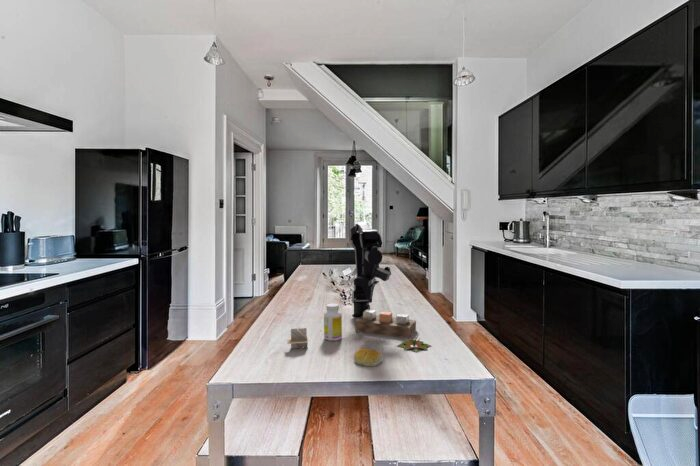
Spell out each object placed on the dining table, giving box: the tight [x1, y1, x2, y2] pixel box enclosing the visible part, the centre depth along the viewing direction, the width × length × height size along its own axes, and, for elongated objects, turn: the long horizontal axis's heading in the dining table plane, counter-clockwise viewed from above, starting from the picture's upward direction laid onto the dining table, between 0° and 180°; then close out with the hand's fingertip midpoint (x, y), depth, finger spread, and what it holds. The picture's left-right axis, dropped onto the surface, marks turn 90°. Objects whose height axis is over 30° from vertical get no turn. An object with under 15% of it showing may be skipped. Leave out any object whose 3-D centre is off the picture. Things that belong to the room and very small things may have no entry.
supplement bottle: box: [323, 303, 343, 342], centre depth 146 cm, size 7×7×13 cm
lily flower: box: [396, 333, 432, 353], centre depth 138 cm, size 12×12×5 cm
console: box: [355, 314, 417, 339], centre depth 155 cm, size 22×10×4 cm, turn 65°
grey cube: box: [363, 309, 377, 321], centre depth 158 cm, size 4×4×4 cm
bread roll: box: [353, 347, 384, 367], centre depth 125 cm, size 8×9×4 cm
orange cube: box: [378, 311, 393, 323], centre depth 155 cm, size 4×4×4 cm
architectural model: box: [287, 327, 309, 350], centre depth 135 cm, size 3×7×7 cm, turn 99°
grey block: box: [395, 313, 410, 325], centre depth 152 cm, size 4×4×4 cm
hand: (369, 299), depth 158 cm, fingers closed
